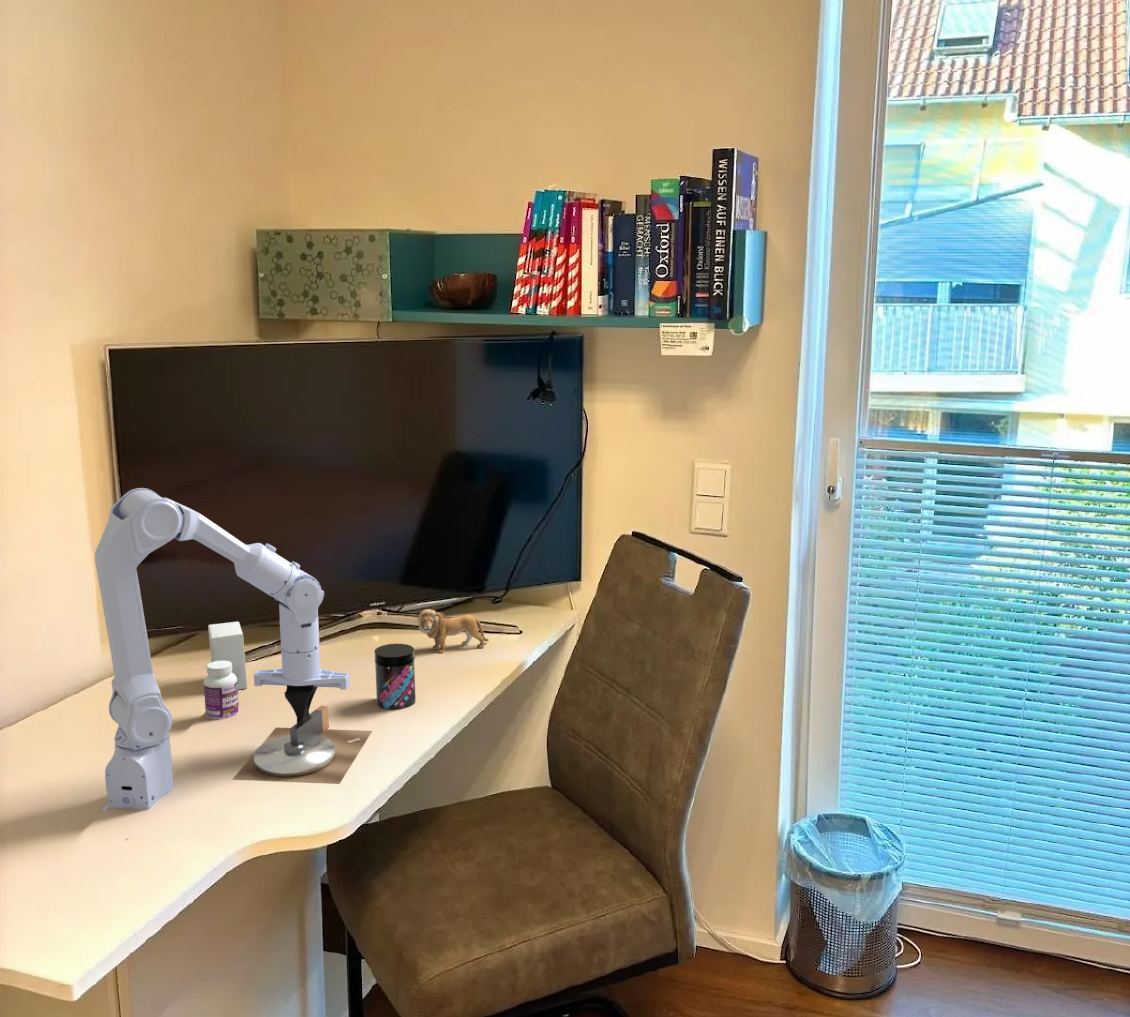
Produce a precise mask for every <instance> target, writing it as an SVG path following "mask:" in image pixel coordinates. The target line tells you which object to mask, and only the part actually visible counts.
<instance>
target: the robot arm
mask: <svg viewBox="0 0 1130 1017" xmlns="http://www.w3.org/2000/svg"><path fill="white" fill-rule="evenodd" d="M108 516H109V517H108V520H107V524H106V525H105V527H104V531H103V533H102V534H101V537H100V540H99V541H98V545H96V546H97V547H96V548H95V551H94V562H95V568H96V575H97V580H98V585H99V591H100V597H101V605H102V608H103V616H104V622H105V625H106V626H105V627H106V632H107V638H108V645H109V652H110V655H111V661H112V662H111V663H112V668H113V673H114V675H113V679H112V680H111V687H112V693H111V698H110V699H109V703H108V713H109V715H110V717H111V720H113V721H114V722H115V723H116V724H117V725H118V728H117V729H116V732H115V735H114V752H113V755H112V757H111V759H110V760H109V761H108V763H107V765H106V767H105V769H104V777H105V786H106V797H107V804H106V805H104V806H103V808H102V812H106V810H107V809H108V808H109V809H110V808H111V809H129V810H130V809H131V810H133V809H135V810H150V809H151V808H152V807H153V806H154V805H155V804H156V803H157V802H158V801H159V800H160V799H162V798H163V797H165V796H166V795H168V794H169V793H170V792H172V791H173V790H174V787H175V783H174V782H175V781H174V769H173V759H172V750H171V749H172V748H171V747H172V746H171V738H170V737H171V736H170V731H171V729H172V726H173V716H172V713H171V711H170V709H169V708H168V707H167V705H165V703H164V702H163V698H162V693H161V689H160V688H159V685H158V683H157V682H158V681H157V680H156V677H155V674H154V670H153V663H152V657H151V651H150V645H149V638H148V632H147V626H146V620H145V614H144V607H143V600H142V594H141V589H140V583H139V577H138V571H137V569H138V568H137V567H138V566H139V565H140V564H141V563H142V561H144V560H145V559H146V557H148V555H149V554H150V553H153V552H154V551H156V550H158V549H159V548H161V547H163V546H164V545H167V543H170V542H171V541H172V540H173V539H176V540H177V541H179V542H184V541H189V540H193V541H194V540H195V541H196V542H199V543H200V544H202V545H203V546H205V547H207V548H209V549H210V550H212V551H214V552H215V553H217V554H219V555H221V556H222V557H224V558H226V559H228V560H229V561H231V562H232V563H233V564H234V570H235V573H236V576H237V577H238V578H240V579H242V580H244V581H245V582H247V583H249V584H251V585H252V586H254V587H255V588H257V589H258V590H260V591H262V592H263V593H264V594H266V595H268V596H270V597H273V598H274V600H275V601H276V602H277V601H278V602H280V603H279V604H278V607H279V631H280V648H281V649H280V653H281V654H280V655H281V668H276V669H275V668H274V669H273V668H272V669H258V670H256V672H254V673H253V683H254V684H253V685H254V686H255V687H262V686H263V685H265V686H266V685H267V686H285V687H286V690H285V691H284V698H285V699H286V701H287V702H288V704H290V707H291V708H292V710H293V711H294V714H295V716H296V724H297V723H298V722H299V721H301V720H302V719H303V718H305V717H306V716H308V715H309V714H310V708H311V705H312V701H313V699H314V696H315V694H316V691H317V689H318V688H339V689H340V690H347V689H348V688H349V687H350V684H351V683H350V681H351V680H350V673H348V672H338V671H333V670H329V669H324V668H321V656H320V655H321V654H320V652H321V651H320V630H319V629H320V628H319V613H318V612H319V611H318V610H319V607H320V605H321V604H322V602H323V600H324V597H325V591H324V590H322V587H321V586H322V585H320V582H319V581H318V580H317V578H315V577H314V576H312V575H310V574H308V573H307V572H305V571H304V570H301V569H300V568H301V565H300V564H299V563H298V562H295V560H294V561H291V562H290V561H289V560H287V559H286V558H284V557H282V556H280V555H279V554H278V553H276V551H277V547H274V546H273V545H271V544H269V543H265V545H264V544H263V543H260V542H255V543H251V544H246V543H244V542H243V541H242V540H239V539H238V538H237V537H235V536H234V535H232V534H231V533H229V532H228V531H227V530H225V529H224V528H222V527H221V526H219V525H218V524H216V523H214V522H213V521H212V520H210V519H209V518H208V517H206V516H204V515H203V514H201V513H200V512H198V511H196V510H194V509H192V508H190V507H189V506H188V507H187V506H186V505H183V504H181V503H179V502H177V501H174V500H173V499H170V498H168V497H165V496H163V497H161V495H159V494H158V493H157V492H155V491H154V490H152V489H149V488H145V487H139V488H138V487H137V488H134V489H133V488H132V489H130V490H129V491H127V492H126V493H125V494H124V495H122V496H121V497H120V498H119V499H118V500H117V501H116V502H115V503H114V504H113V505H112V506H111V507H110V509H109V515H108Z"/></svg>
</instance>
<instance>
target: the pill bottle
mask: <svg viewBox="0 0 1130 1017" xmlns="http://www.w3.org/2000/svg"><path fill="white" fill-rule="evenodd" d="M231 672H232V663H231V662H229V661H215V662H211V661H210V662H208V663H207V665H206V673H207V676H206V677H204V680H203V693H204V708H205V716H206V717H207V718H208V719H210V720H226V719H230V718H233V717H235V716H237V715H239V713H240V705H239V704H240V703H239V690H238V686H237V677H236V676H235V674H233V673H231Z"/></svg>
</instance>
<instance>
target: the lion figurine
mask: <svg viewBox="0 0 1130 1017" xmlns="http://www.w3.org/2000/svg"><path fill="white" fill-rule="evenodd" d="M417 622H418V623H417V624H418V628H419V632H421V633H423V634H425V635H426V636H427V637H428V638H429V639H433V640H434V643H435V644H434V645H433V646H432V647H431V649H433V650H438V651H437V653H439V654H443V653H445V652H446V639H447V637H449V636H450V637H453V636H457V635H459V634H461V633H462V632H464V634H465V635H466V640H463V641H461V645H463V646H467V645H469V643H470V642H471V641H472V639H473V638H475V639H476V640H478V641H479V644H477V648H478V649H483V648H484V647H485V642H490V641H489V640H490V639H488V638H487V637H486V636H485V634H484V630H483V626H482V624H481V621H480V620H479V619H478V618H477V617H476V616H474V615H473V614H464V615H460V616H456V617H449V616H447V615H446V614H445V613H443V612H438V611H436V610H434V609H431V608H430V609H423V610H421V612H420V613H419V614H418V618H417Z"/></svg>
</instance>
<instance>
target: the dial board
mask: <svg viewBox="0 0 1130 1017" xmlns="http://www.w3.org/2000/svg"><path fill="white" fill-rule="evenodd" d="M290 728H291V727H275V728H274V729H273V731H271V733H270V734H269V735H267V737H266V739H265V740H264V741H263V742H262V743H261V745H262V744H264V743H266V742H268V741H270V740H273V739H275V738H279V737H283V736H288V735H290ZM372 732H373V730H360V729H359V730H358V729H357V730H356V729H332V728H331V729H329V728H328V729H327V730H325V731H324V732H323V733H321V734H320V735H319V736H323V737H326V738H328V739H330V740H331V741H332V742H333V743H334V745H335V758H334V760H333V761H332V762H331V763H330V764H329V765H328V766H326V767H324V768H322V769H320V770H318V771H315V772H312V773H309V774H305V775H299V776H289V777H281V776H272V775H267V774H264V773H262V772H260V771H258V770H257V769H256V767H255V765H254V753H253V754H252V755H251V757H250V758H249V759H248V760H247V761H246V763H245V764H244V765H243V766H242V768H240V769H239V771H238V772H237V773H236V774H235V776H233V778H232V780H233V781H234V780H238V781H258V782H259V781H260V782H261V781H262V782H284V783H285V782H287V783H311V784H313V783H314V784H331V785H332V784H335V785H340V784H341V782H342V781H343V779H344V778H345V776H346V774H347V773H348V771H349V770H350V768H351V766H352V765H353V763H354V762H355V760H356V758H357V756H359V753H360V752H361V751H362V749H363V747H364V745H365V744H366V742H367V740H368V739H369V737H370V735H371V734H372Z"/></svg>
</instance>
